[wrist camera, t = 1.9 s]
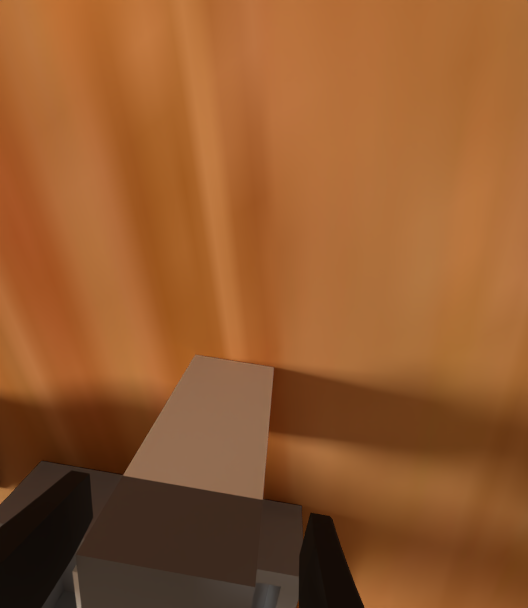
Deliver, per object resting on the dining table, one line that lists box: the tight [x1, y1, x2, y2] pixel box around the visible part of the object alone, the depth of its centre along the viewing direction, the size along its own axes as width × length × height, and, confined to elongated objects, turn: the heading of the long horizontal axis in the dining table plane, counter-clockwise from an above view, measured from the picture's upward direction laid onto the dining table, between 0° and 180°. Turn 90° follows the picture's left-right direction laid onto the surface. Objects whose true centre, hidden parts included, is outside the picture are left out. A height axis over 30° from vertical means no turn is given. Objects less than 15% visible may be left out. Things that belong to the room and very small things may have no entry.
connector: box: [75, 355, 274, 608], centre depth 11 cm, size 4×4×9 cm
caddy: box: [0, 461, 303, 608], centre depth 18 cm, size 16×12×4 cm
